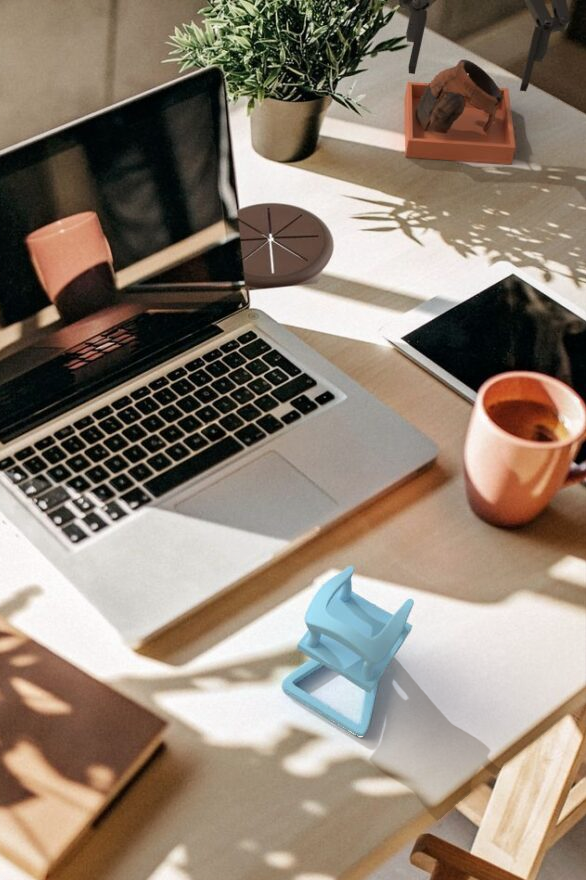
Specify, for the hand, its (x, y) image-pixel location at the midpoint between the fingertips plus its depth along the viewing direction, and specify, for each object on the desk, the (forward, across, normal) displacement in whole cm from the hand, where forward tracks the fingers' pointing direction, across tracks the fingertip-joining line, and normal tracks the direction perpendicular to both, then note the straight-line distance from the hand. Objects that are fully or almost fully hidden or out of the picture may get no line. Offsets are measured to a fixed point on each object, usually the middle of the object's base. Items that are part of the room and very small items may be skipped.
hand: (467, 79), depth 118 cm
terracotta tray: (+4, 0, -8) cm, 9 cm away
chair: (+61, -2, +48) cm, 78 cm away
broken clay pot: (+4, +1, -7) cm, 8 cm away
